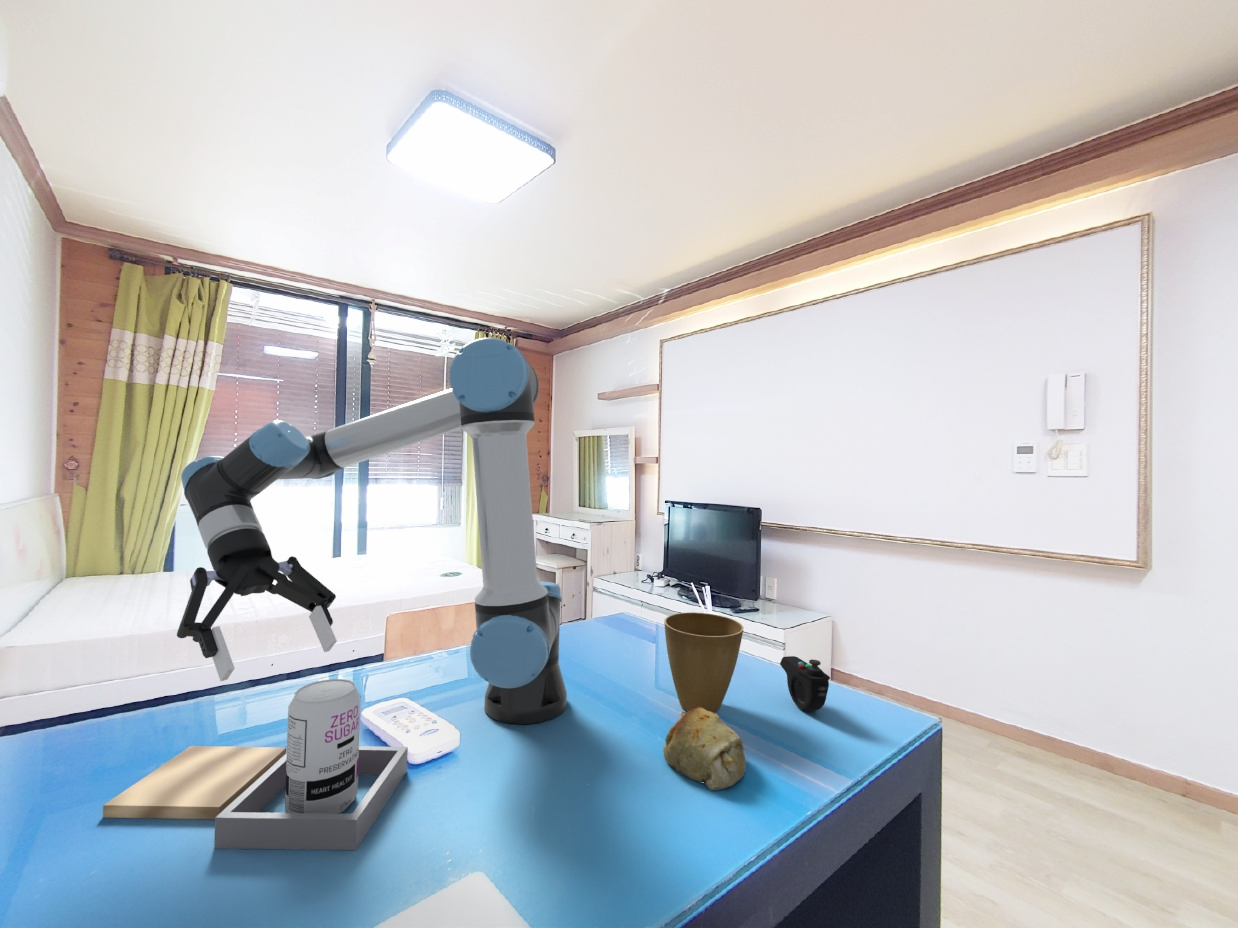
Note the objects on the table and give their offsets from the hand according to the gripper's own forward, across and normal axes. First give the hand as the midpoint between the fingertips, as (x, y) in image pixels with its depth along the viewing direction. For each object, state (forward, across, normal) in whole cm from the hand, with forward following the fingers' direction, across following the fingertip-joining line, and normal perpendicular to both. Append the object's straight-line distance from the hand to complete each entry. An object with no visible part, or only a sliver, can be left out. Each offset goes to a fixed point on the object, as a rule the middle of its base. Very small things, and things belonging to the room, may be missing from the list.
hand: (283, 659), depth 75 cm
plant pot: (+40, -56, +16) cm, 71 cm away
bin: (+19, 0, -4) cm, 20 cm away
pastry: (+46, -38, +22) cm, 63 cm away
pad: (+7, +6, -16) cm, 19 cm away
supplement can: (+19, 0, -4) cm, 20 cm away
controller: (+51, -68, +28) cm, 90 cm away
